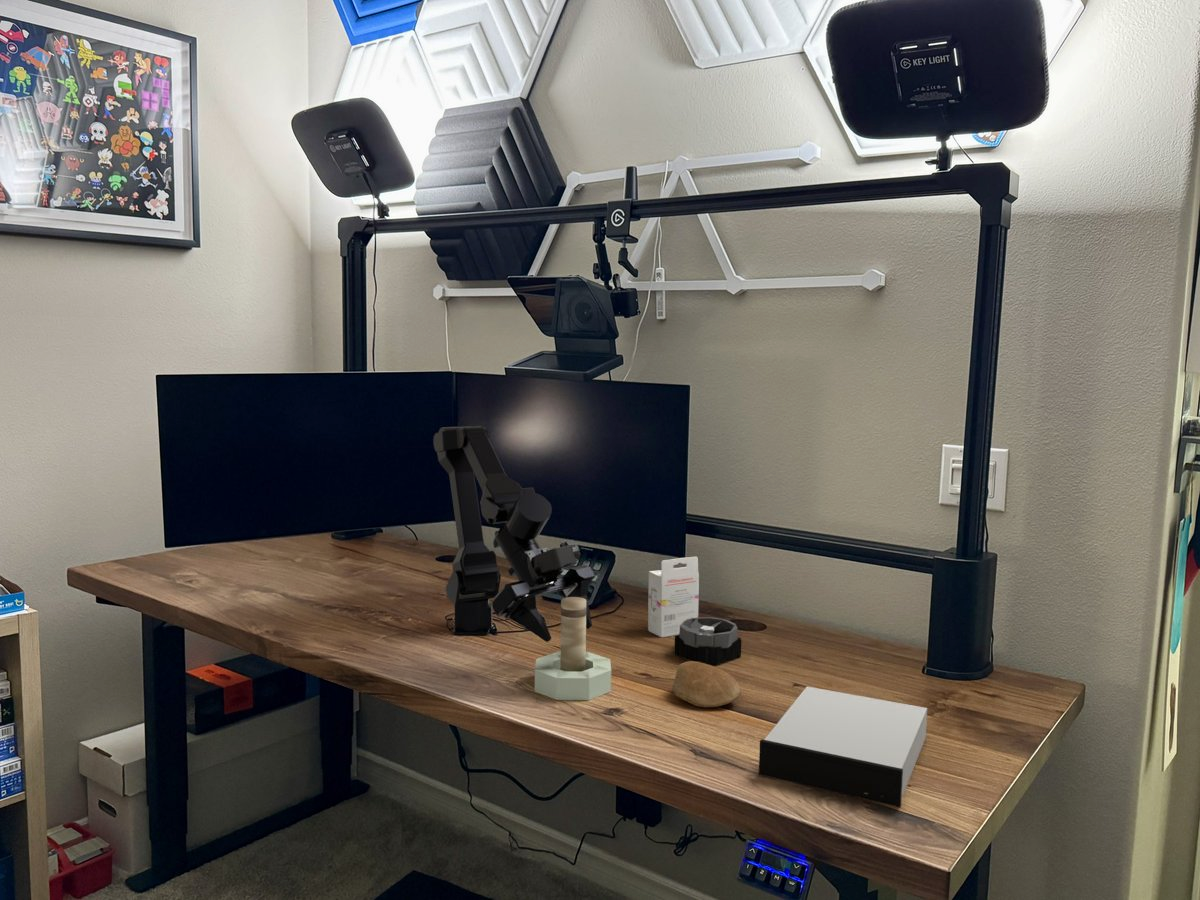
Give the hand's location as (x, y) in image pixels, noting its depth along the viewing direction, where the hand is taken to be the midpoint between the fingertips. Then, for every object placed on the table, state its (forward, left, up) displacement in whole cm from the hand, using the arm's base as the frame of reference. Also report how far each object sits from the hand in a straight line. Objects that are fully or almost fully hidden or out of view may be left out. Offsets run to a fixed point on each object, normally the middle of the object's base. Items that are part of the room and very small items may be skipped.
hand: (570, 633), depth 149 cm
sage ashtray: (+1, -1, -8) cm, 8 cm away
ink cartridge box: (+20, +27, -9) cm, 35 cm away
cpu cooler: (+24, +14, -9) cm, 30 cm away
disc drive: (+38, -26, -9) cm, 46 cm away
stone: (+21, -6, -9) cm, 23 cm away
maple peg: (+1, -1, -8) cm, 8 cm away
